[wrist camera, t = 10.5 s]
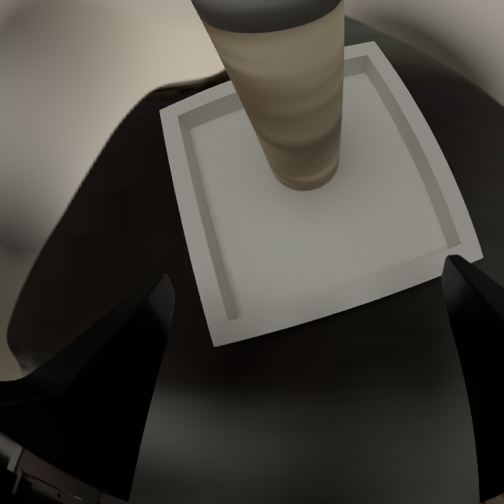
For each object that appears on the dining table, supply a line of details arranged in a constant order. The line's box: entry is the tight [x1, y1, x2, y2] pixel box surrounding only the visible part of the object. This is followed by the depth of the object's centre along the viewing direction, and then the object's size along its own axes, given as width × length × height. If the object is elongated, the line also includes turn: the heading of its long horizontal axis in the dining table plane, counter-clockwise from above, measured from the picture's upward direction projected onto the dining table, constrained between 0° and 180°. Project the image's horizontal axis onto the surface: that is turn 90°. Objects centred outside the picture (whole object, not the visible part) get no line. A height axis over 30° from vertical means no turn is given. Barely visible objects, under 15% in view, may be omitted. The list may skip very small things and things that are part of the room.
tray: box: [160, 41, 483, 347], centre depth 19 cm, size 16×16×3 cm
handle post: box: [191, 0, 344, 191], centre depth 12 cm, size 4×4×14 cm
